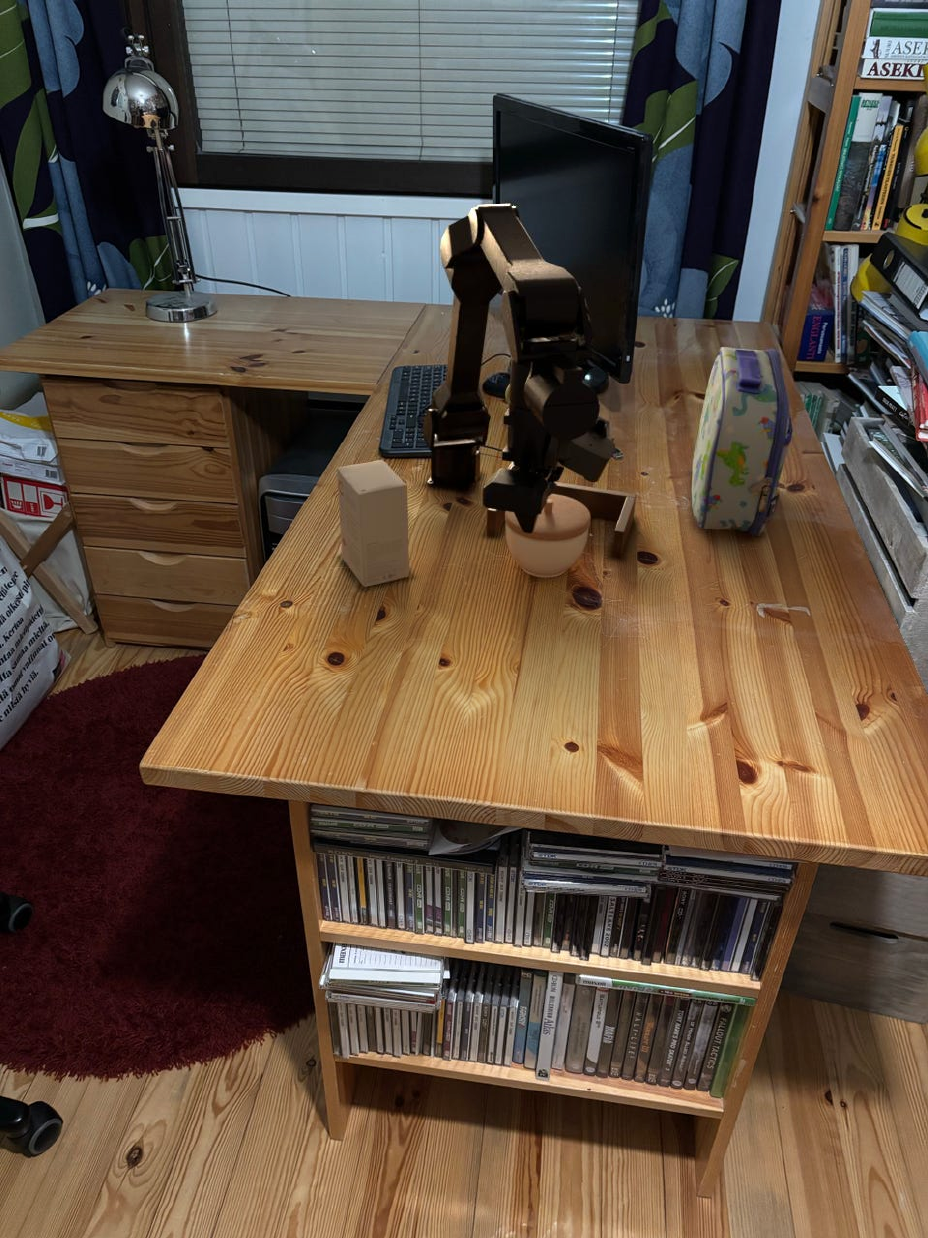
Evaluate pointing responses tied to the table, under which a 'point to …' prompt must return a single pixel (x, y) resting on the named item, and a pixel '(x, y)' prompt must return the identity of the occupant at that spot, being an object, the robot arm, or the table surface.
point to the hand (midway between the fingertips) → (528, 531)
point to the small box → (373, 522)
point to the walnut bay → (598, 505)
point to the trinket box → (550, 537)
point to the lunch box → (741, 441)
